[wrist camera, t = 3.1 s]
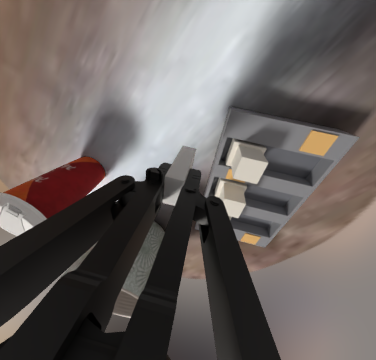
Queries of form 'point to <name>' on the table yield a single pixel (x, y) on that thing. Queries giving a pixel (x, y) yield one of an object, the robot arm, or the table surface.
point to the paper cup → (48, 194)
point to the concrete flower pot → (134, 271)
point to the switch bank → (277, 168)
